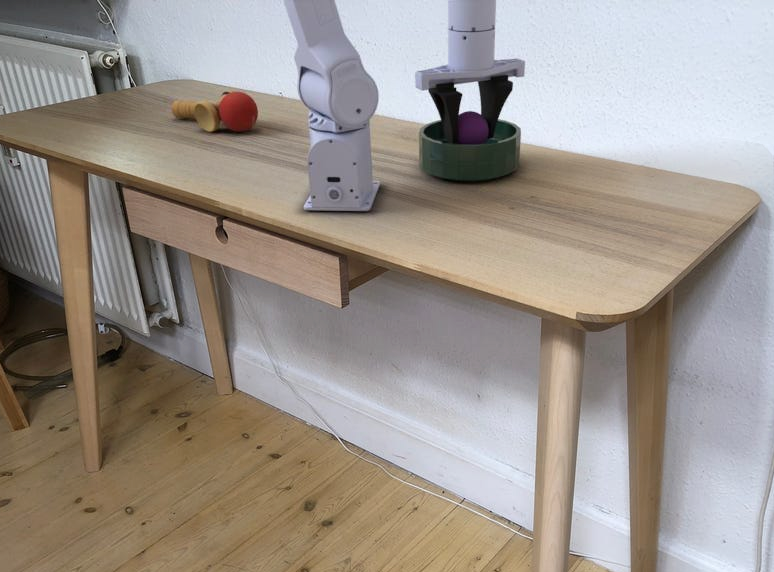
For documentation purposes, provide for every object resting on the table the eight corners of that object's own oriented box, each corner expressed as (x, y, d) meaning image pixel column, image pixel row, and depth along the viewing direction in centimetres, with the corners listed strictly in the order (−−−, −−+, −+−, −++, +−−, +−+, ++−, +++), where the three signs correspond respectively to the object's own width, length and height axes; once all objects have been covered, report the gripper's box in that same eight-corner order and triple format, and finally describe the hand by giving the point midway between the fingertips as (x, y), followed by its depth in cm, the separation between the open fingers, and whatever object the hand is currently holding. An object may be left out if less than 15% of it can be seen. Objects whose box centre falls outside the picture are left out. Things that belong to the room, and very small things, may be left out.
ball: (487, 156, 98) (489, 117, 95) (449, 156, 98) (449, 117, 96) (488, 144, 102) (489, 106, 99) (451, 144, 103) (451, 106, 100)
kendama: (160, 132, 125) (233, 133, 115) (155, 92, 123) (228, 88, 113) (198, 130, 131) (270, 130, 120) (194, 91, 129) (267, 88, 118)
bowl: (519, 185, 95) (521, 145, 93) (415, 184, 97) (414, 145, 94) (518, 152, 106) (520, 116, 104) (424, 152, 108) (423, 116, 105)
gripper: (506, 18, 98) (502, 124, 105) (403, 29, 93) (406, 139, 100) (536, 25, 92) (529, 137, 99) (428, 38, 88) (429, 154, 95)
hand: (469, 139), depth 100 cm, fingers closed on ball, 5 cm apart
